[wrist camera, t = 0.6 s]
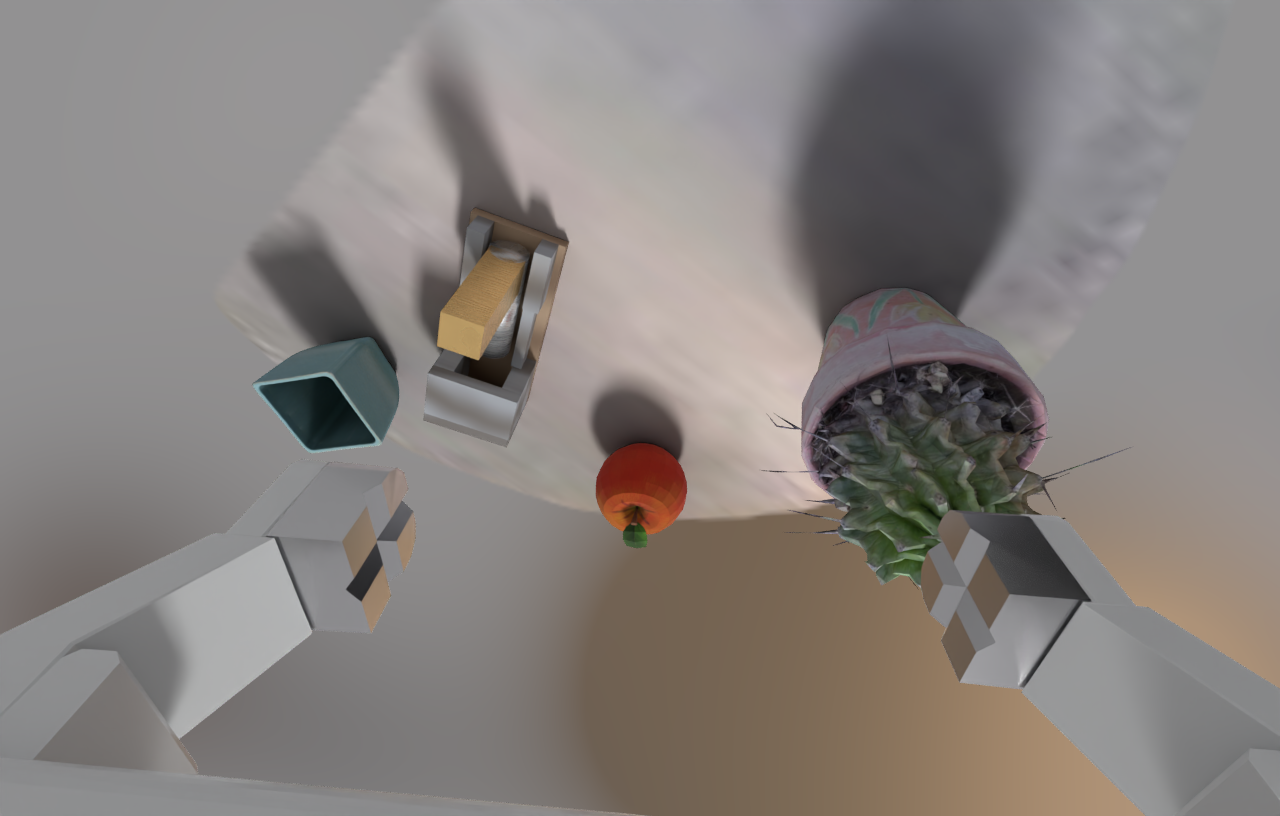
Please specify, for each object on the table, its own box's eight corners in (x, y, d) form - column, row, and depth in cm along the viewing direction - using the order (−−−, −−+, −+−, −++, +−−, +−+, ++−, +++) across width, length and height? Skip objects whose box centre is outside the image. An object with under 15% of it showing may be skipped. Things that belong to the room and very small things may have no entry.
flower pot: (379, 315, 56) (328, 371, 49) (423, 386, 61) (383, 446, 55) (306, 328, 58) (248, 384, 52) (354, 396, 64) (308, 454, 57)
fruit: (688, 427, 60) (679, 502, 52) (691, 490, 66) (684, 565, 58) (597, 425, 61) (576, 498, 54) (609, 486, 68) (591, 559, 60)
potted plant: (760, 241, 46) (768, 473, 27) (1034, 233, 43) (1257, 492, 24) (753, 414, 57) (755, 660, 39) (968, 418, 54) (1083, 690, 35)
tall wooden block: (496, 235, 47) (439, 311, 39) (534, 249, 48) (485, 327, 39) (480, 331, 54) (428, 414, 45) (514, 342, 54) (468, 427, 45)
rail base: (474, 207, 47) (439, 246, 42) (568, 242, 48) (546, 284, 43) (453, 373, 59) (423, 420, 54) (528, 398, 60) (506, 447, 55)
